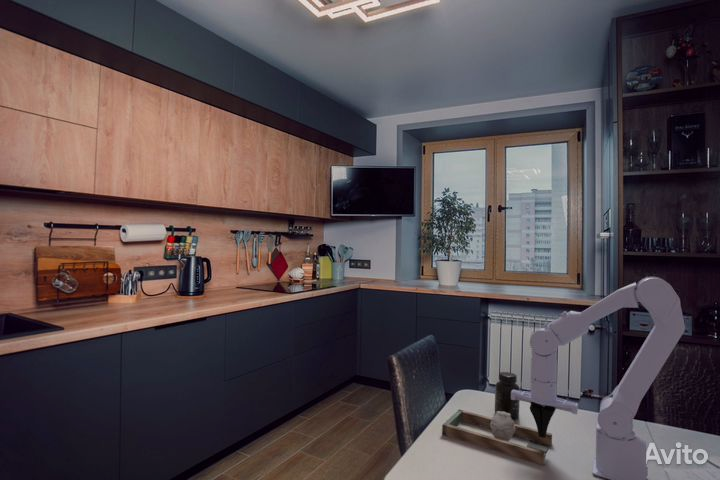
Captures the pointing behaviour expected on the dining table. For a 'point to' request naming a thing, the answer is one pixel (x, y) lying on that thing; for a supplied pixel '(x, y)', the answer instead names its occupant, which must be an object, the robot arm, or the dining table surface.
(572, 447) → the dining table surface
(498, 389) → the supplement bottle
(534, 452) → the box
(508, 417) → the white head sculpture
